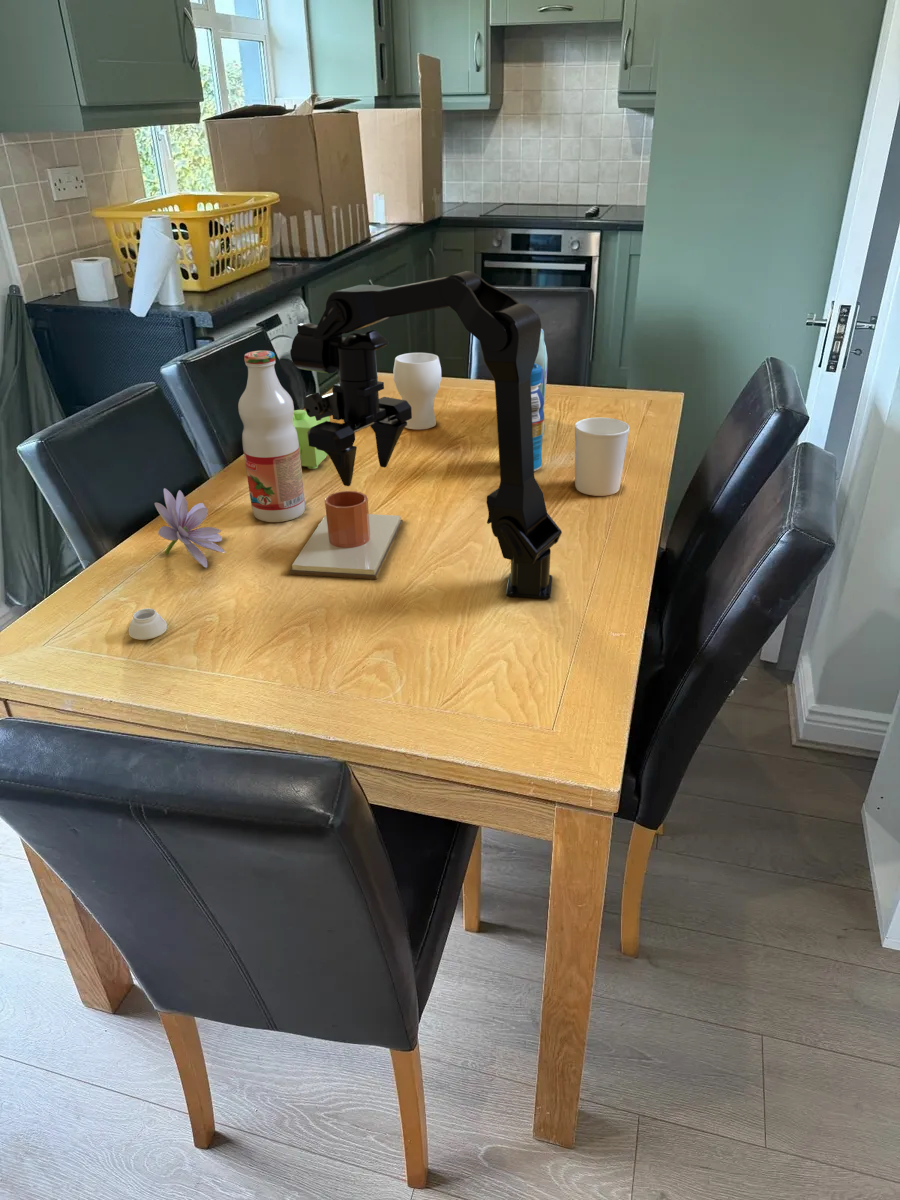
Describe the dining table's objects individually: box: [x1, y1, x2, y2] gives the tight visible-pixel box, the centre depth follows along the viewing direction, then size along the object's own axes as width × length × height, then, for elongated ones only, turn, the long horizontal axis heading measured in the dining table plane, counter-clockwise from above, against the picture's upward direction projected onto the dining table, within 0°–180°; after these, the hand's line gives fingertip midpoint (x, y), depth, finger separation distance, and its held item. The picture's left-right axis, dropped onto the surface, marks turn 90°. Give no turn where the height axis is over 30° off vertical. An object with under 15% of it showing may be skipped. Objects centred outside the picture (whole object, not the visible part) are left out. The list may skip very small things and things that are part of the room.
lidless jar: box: [128, 607, 168, 641], centre depth 115 cm, size 5×3×5 cm
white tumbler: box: [574, 416, 631, 497], centre depth 155 cm, size 10×10×12 cm
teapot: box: [293, 409, 331, 470], centre depth 169 cm, size 15×13×11 cm
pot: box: [324, 490, 370, 548], centre depth 135 cm, size 7×7×7 cm
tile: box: [289, 513, 404, 580], centre depth 137 cm, size 21×14×2 cm, turn 171°
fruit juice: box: [237, 350, 306, 523], centre depth 143 cm, size 9×9×28 cm
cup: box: [392, 352, 442, 430], centre depth 188 cm, size 11×11×15 cm
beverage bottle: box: [530, 363, 545, 473], centre depth 163 cm, size 8×8×20 cm
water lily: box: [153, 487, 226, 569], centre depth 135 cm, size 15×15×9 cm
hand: (365, 476), depth 132 cm, fingers open, 9 cm apart
